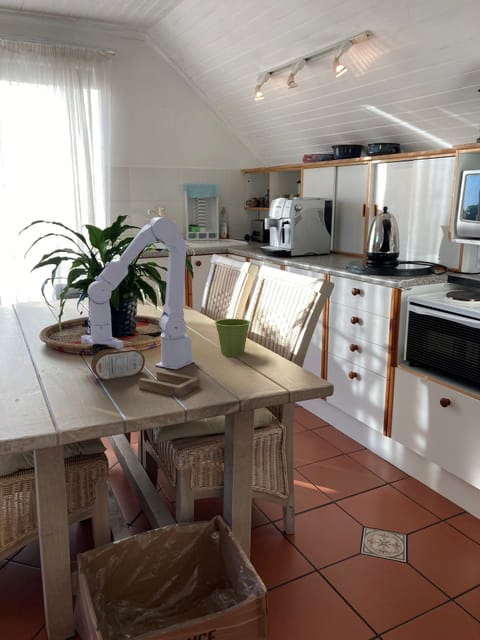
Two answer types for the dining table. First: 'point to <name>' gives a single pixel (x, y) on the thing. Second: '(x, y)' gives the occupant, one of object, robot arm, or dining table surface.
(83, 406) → the dining table surface
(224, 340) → the plant pot
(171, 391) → the dock
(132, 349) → the tin
